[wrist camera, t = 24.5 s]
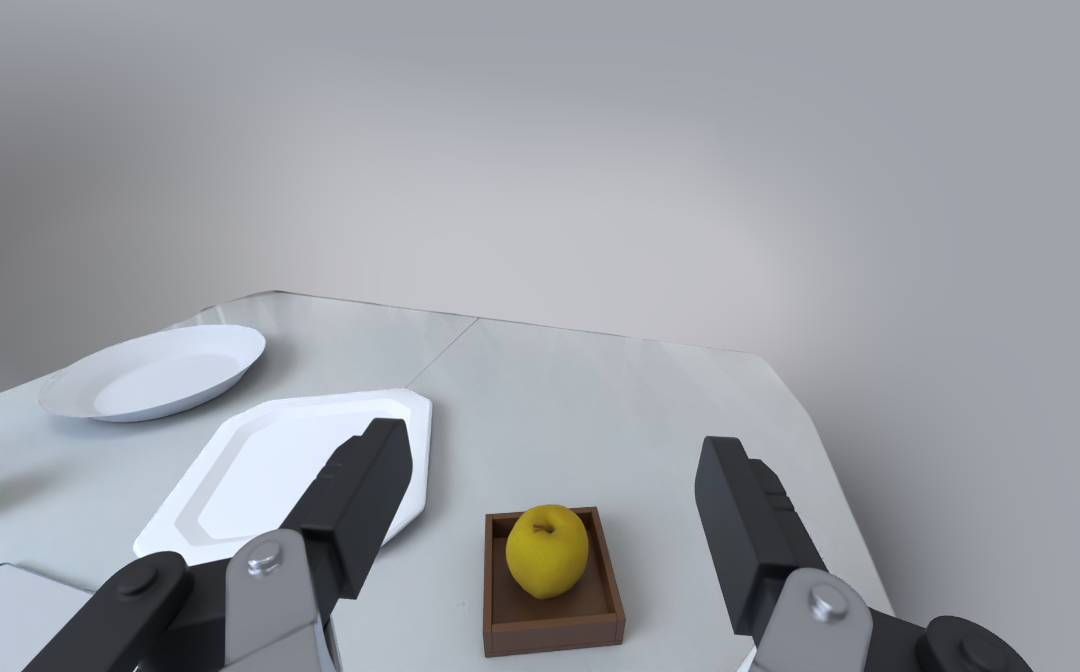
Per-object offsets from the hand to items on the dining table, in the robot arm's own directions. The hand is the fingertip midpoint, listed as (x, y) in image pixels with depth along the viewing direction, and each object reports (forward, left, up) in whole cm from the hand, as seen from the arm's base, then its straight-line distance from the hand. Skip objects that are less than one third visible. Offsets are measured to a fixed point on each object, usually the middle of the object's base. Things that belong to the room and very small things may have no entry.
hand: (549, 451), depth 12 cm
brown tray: (-2, -14, -27) cm, 31 cm away
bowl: (+49, -49, -28) cm, 75 cm away
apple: (-2, -14, -27) cm, 30 cm away
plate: (+22, -29, -28) cm, 46 cm away
